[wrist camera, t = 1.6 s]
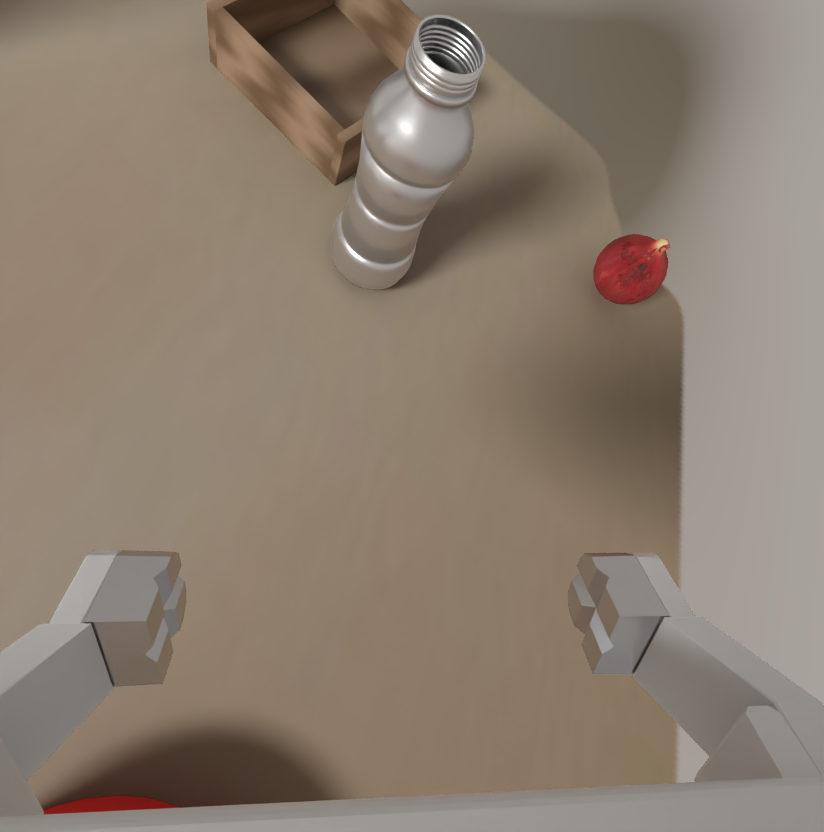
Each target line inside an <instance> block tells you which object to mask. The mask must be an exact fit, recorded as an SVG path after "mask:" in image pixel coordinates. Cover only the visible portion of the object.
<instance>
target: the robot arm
mask: <svg viewBox="0 0 824 832" xmlns="http://www.w3.org/2000/svg"><path fill="white" fill-rule="evenodd" d="M577 567H578V569H579V571H580V574H579V575H578V576H577V577H575V578H574V579H573V580H572V581H571V584H570V587H569V591H568V606H569V611H570V616H571V618H572V621H573V624H574V626H575V627H576V628H578V629H579V630H580V631H581V632H582V633H583V634H584V635H585V636H584V639H583V642H582V647H583V650H584V652H585V655H586V658H587V660H588V663H589V665H590V668H591V670H592V673H593V674H625V675H633V677H634V679H635V680H636V681H637V682H638V683H639V684H640V685H641V686H642V687H643V688H644V689H645V690H646V691H647V692H648V693H649V694H650V695H651V696H652V697H653V698H654V699H655V700H656V701H657V702H658V703H659V705H660V706H661V707H662V708H663V709H664V710H665V711H666V712H667V713H668V714H669V715H670V716H671V717H672V718H673V719H674V720H675V721H676V722H677V723H678V724H679V725H680V726H681V727H682V728H683V729H684V730H685V732H687V734H689V736H690V737H691V738H692V739H693V740H694V741H695V742H696V743H697V744H698V745H699V746H700V747H701V748H702V749H703V750H704V751H705V752H706V753H707V754H708V755H709V756H710V757H709V758H708V760H707V761H706V762H705V764H704V765H703V766H702V768H701V769H700V770H699V772H698V773H697V775H696V777H695V779H694V781H695V782H689V783H669V784H649V785H629V786H608V787H588V788H567V789H547V790H526V791H506V792H485V793H465V794H444V795H424V796H404V797H384V798H364V799H344V800H324V801H304V802H284V803H264V804H244V805H224V806H204V807H184V808H164V809H144V810H124V811H104V812H84V813H64V814H44V811H43V809H42V807H41V804H40V803H39V801H38V799H37V798H36V796H35V794H34V793H33V791H32V789H31V788H30V786H29V784H28V783H27V781H28V779H29V778H30V777H31V776H32V775H33V774H34V773H35V772H36V771H37V770H38V769H39V768H40V767H41V766H42V765H43V764H44V763H45V762H46V761H47V759H48V758H49V757H50V756H51V755H52V754H53V753H54V752H55V751H56V750H57V749H58V748H59V747H60V746H61V745H62V744H63V743H64V742H65V740H66V739H67V738H68V737H69V736H70V735H71V734H72V733H73V732H74V731H75V730H76V729H77V728H78V727H79V726H80V725H81V724H82V723H83V722H84V720H85V719H86V718H87V717H88V716H89V715H90V714H91V713H92V712H93V711H94V710H95V709H96V708H97V707H98V706H99V705H100V704H101V703H102V702H103V700H104V699H105V698H106V697H107V696H108V695H109V694H110V693H111V692H112V691H113V687H121V686H141V685H161V684H163V682H164V678H165V675H166V672H167V669H168V666H169V663H170V660H171V657H172V654H173V648H172V644H171V638H172V637H173V636H174V635H175V634H176V633H177V632H178V631H180V628H181V625H182V621H183V618H184V612H185V606H186V587H185V581H184V580H183V579H181V578H180V577H179V576H178V574H179V571H180V568H181V561H180V557H179V553H177V552H162V551H127V550H121V551H112V550H93V551H92V552H91V553H90V554H88V555H87V556H86V558H85V559H84V561H83V563H82V565H81V567H80V568H79V570H78V572H77V574H76V576H75V577H74V579H73V581H72V583H71V585H70V586H69V588H68V590H67V592H66V594H65V595H64V597H63V599H62V601H61V603H60V604H59V606H58V608H57V610H56V611H55V613H54V615H53V617H52V619H51V620H50V622H49V624H39V625H38V626H36V627H35V628H33V629H32V630H31V631H29V632H28V633H27V634H25V635H24V636H22V637H21V638H20V639H18V640H17V641H15V642H14V643H13V644H11V645H10V646H8V647H7V648H6V649H4V650H3V651H1V652H0V832H824V705H823V704H822V702H820V701H819V700H817V699H816V698H815V697H813V696H812V695H811V694H809V693H808V692H807V691H805V690H804V689H802V688H801V687H800V686H798V685H797V684H795V683H794V682H793V681H791V680H790V679H788V678H787V677H785V676H784V675H783V674H781V673H780V672H779V671H777V670H776V669H774V668H773V667H772V666H770V665H769V664H768V663H766V662H765V661H763V660H762V659H760V658H759V657H758V656H756V655H755V654H754V653H752V652H751V651H749V650H748V649H747V648H745V647H744V646H742V645H741V644H739V643H738V642H737V641H735V640H734V639H732V638H731V637H730V636H728V635H727V634H726V633H724V632H723V631H722V630H720V629H719V628H717V627H716V626H714V625H713V624H712V623H710V622H709V621H707V620H706V619H705V618H703V617H696V616H695V615H694V613H693V611H692V610H691V608H690V606H689V605H688V603H687V602H686V600H685V598H684V597H683V595H682V594H681V592H680V590H679V589H678V587H677V585H676V584H675V582H674V581H673V579H672V577H671V576H670V574H669V573H668V571H667V569H666V568H665V566H664V564H663V563H662V561H661V560H660V558H659V557H658V556H657V555H656V554H654V553H584V554H583V555H582V556H581V557H580V560H579V562H578V565H577ZM43 814H44V815H43Z"/></svg>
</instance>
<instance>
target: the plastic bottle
mask: <svg viewBox="0 0 824 832" xmlns="http://www.w3.org/2000/svg"><path fill="white" fill-rule="evenodd" d="M485 62H486V52H485V48H484V45H483V43H482V41H481V39H480V38H479V36H478V35H477V34H476V33H475V32H474V31H473V30H472V29H471V28H470V27H469V26H468V25H466V24H465V23H464V22H462V21H460V20H458V19H456V18H454V17H451V16H447V15H441V14H436V15H430V16H428V17H426V18H424V19H423V20H422V21H421V22H420V23H419V25H418V27H417V29H416V31H415V34H414V38H413V41H412V44H411V46H410V47H409V49H408V51H407V54H406V57H405V61H404V68H401V69H399V70H398V71H396V72H395V73H393V74H392V75H390V76H389V77H387V78H386V79H384V80H383V81H382V82H381V83H380V84H379V85H378V86H377V88H376V89H375V91H374V92H373V93H372V95H371V96H370V98H369V100H368V102H367V104H366V109H365V114H364V119H363V125H362V127H363V128H362V138H361V149H360V159H359V164H358V169H357V174H356V178H355V183H354V187H353V189H352V191H351V194H350V196H349V198H348V201H347V203H346V205H345V207H344V208H343V209H342V211H341V212H340V213H339V215H338V217H337V219H336V221H335V223H334V225H333V228H332V231H331V255H332V259H333V262H334V264H335V266H336V268H337V269H338V271H339V272H340V273H341V274H342V275H343V276H344V277H345V278H346V279H347V280H348V281H350V282H351V283H353V284H354V285H356V286H359V287H361V288H365V289H369V290H382V289H386V288H389V287H391V286H392V285H394V284H395V283H397V282H398V281H399V280H400V279H401V278H402V277H403V276H404V275H405V274H406V273H407V271H408V270H409V268H410V266H411V263H412V260H413V257H414V254H415V250H416V243H417V240H418V237H419V234H420V232H421V229H422V226H423V224H424V221H425V220H426V218H427V217H428V215H429V213H430V212H431V210H432V209H433V207H434V206H435V204H436V202H437V201H438V199H439V198H440V197H441V196H442V195H443V193H444V192H445V191H446V190H447V188H448V187H449V186H450V185H451V184H452V182H453V181H454V180H455V179H456V177H457V176H458V175H459V174H460V172H461V171H462V169H463V168H464V166H465V165H466V163H467V162H468V160H469V158H470V155H471V152H472V145H473V139H474V125H473V119H472V114H471V108H470V105H469V102H470V100H471V99H472V98H473V96H474V93H475V91H476V88H477V85H478V80H479V78H480V75H481V73H482V71H483V69H484V66H485Z"/></svg>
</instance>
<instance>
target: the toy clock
mask: <svg viewBox="0 0 824 832" xmlns="http://www.w3.org/2000/svg"><path fill="white" fill-rule="evenodd" d="M164 808H181V807H177V806H174V805H171V804H168V803H165V802H162V801H158V800H155V799H151V798H142V797H132V796H122V795H118V796H106V797H94V798H85V799H81V800H77V801H73V802H69V803H65V804H61V805H58V806H54V807H50V808H48V809H45V810H43V811H44V814H64V813H84V812H104V811H124V810H144V809H164ZM44 814H43V815H44Z"/></svg>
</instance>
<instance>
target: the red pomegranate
mask: <svg viewBox="0 0 824 832" xmlns="http://www.w3.org/2000/svg"><path fill="white" fill-rule="evenodd" d="M669 248H670V245H669V241H668V240H667V239H662V238H660V239H658V240H657V241H656V240H654V239H652V238H651V237H648V236H643V235H638V234H632V235H627V236H624V237H620V238H618V239H616V240H614V241H612V242H611V243H610V244H608V245H607V246H606V247H605V248H604V250H603V251H602V252H601V253H600V254H599V256H598V258H597V261H596V264H595V267H594V271H593V273H594V282H595V285H596V287H597V290H598V292H599V293H600V294H601V295H602V296H603V297H604V298H605V299H607V300H609V301H611V302H613V303H616V304H634V303H637V302H640V301H642V300H645V299H647V298H649V297H650V296H651V295H653V294H654V293H655V292H656V291H657V289H658V288H659V287H660V285H661V284H662V282H663V281H664V279H665V276H666V272H667V268H668V258H667V254H666V251H665V250H667V249H669Z"/></svg>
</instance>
